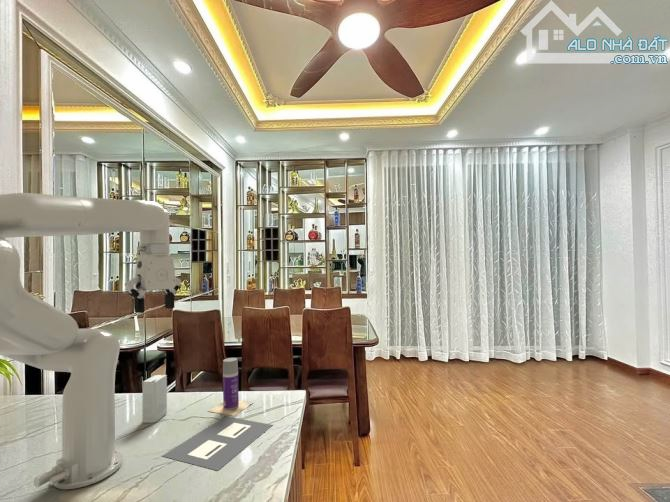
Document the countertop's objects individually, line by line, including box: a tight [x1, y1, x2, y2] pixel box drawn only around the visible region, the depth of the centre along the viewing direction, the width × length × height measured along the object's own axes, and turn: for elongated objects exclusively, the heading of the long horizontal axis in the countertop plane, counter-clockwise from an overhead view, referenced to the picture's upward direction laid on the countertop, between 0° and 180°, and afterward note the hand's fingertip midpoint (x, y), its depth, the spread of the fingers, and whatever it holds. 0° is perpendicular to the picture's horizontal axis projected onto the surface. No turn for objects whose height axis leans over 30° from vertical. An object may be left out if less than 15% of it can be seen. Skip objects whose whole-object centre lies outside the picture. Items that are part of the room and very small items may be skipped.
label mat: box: [162, 415, 273, 472], centre depth 86 cm, size 22×17×1 cm
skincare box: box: [141, 374, 168, 424], centre depth 100 cm, size 6×4×12 cm
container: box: [222, 357, 240, 410], centre depth 107 cm, size 5×5×15 cm
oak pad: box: [207, 400, 251, 417], centre depth 106 cm, size 10×10×1 cm
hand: (155, 310), depth 95 cm, fingers open, 9 cm apart
